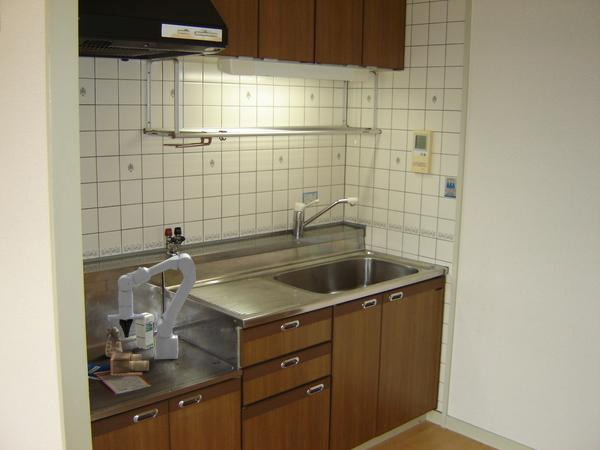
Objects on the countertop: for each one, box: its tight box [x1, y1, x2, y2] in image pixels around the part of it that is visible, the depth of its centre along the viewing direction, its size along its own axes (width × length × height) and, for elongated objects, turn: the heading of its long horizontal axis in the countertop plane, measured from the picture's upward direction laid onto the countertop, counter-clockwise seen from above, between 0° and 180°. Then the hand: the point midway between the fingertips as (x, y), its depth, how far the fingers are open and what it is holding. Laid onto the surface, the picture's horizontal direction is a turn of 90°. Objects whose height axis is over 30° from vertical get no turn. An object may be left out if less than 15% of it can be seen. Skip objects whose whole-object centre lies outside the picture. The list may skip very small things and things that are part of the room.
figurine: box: [104, 326, 124, 358], centre depth 294 cm, size 7×7×12 cm
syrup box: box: [134, 312, 156, 350], centre depth 304 cm, size 6×6×14 cm
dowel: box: [130, 360, 150, 373], centre depth 277 cm, size 12×4×4 cm, turn 97°
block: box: [113, 351, 133, 373], centre depth 277 cm, size 6×9×6 cm, turn 7°
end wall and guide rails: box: [109, 352, 143, 377], centre depth 277 cm, size 12×12×6 cm
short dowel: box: [132, 353, 142, 361], centre depth 287 cm, size 8×3×3 cm
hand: (126, 337), depth 288 cm, fingers closed
